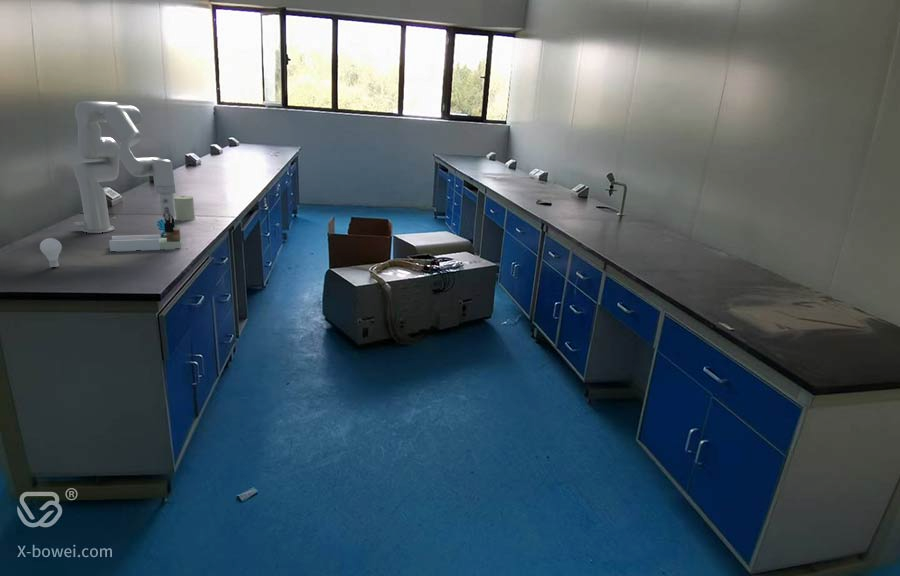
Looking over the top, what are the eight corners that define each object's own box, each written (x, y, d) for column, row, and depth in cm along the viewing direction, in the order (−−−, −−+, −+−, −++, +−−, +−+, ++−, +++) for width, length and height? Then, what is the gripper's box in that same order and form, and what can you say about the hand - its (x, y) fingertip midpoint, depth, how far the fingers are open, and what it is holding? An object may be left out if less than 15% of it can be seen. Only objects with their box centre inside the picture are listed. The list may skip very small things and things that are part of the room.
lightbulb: (49, 271, 193) (43, 241, 189) (40, 267, 196) (34, 238, 192) (68, 267, 198) (63, 238, 194) (60, 264, 201) (55, 235, 197)
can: (194, 217, 289) (192, 194, 285) (196, 220, 281) (194, 197, 277) (175, 217, 284) (172, 195, 280) (176, 221, 277) (174, 198, 273)
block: (166, 241, 228) (165, 230, 226) (167, 238, 232) (166, 227, 231) (180, 241, 230) (178, 229, 228) (180, 238, 234) (179, 227, 233)
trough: (110, 251, 220) (108, 241, 218) (113, 246, 227) (112, 236, 226) (181, 248, 230) (180, 238, 228) (181, 243, 237) (180, 233, 236)
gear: (167, 236, 242) (154, 218, 242) (159, 244, 244) (146, 226, 244) (185, 234, 253) (172, 217, 253) (177, 242, 254) (165, 225, 255)
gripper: (174, 192, 218) (179, 233, 223) (176, 186, 233) (180, 225, 238) (153, 192, 215) (158, 234, 220) (156, 186, 230) (161, 226, 235)
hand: (170, 229), depth 229 cm, fingers open, 9 cm apart
